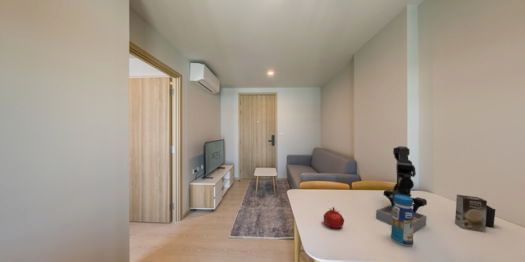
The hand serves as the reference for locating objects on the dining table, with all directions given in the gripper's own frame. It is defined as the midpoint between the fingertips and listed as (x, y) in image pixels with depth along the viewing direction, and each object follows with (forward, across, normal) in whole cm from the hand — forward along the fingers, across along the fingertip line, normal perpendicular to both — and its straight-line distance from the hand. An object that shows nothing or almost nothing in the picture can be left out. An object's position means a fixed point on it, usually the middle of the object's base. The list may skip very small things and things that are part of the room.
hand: (403, 212), depth 104 cm
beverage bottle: (+5, +9, -24) cm, 26 cm away
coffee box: (+5, +21, +24) cm, 32 cm away
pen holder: (+5, +23, +37) cm, 44 cm away
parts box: (+4, 0, -3) cm, 5 cm away
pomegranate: (+5, -15, -40) cm, 43 cm away
